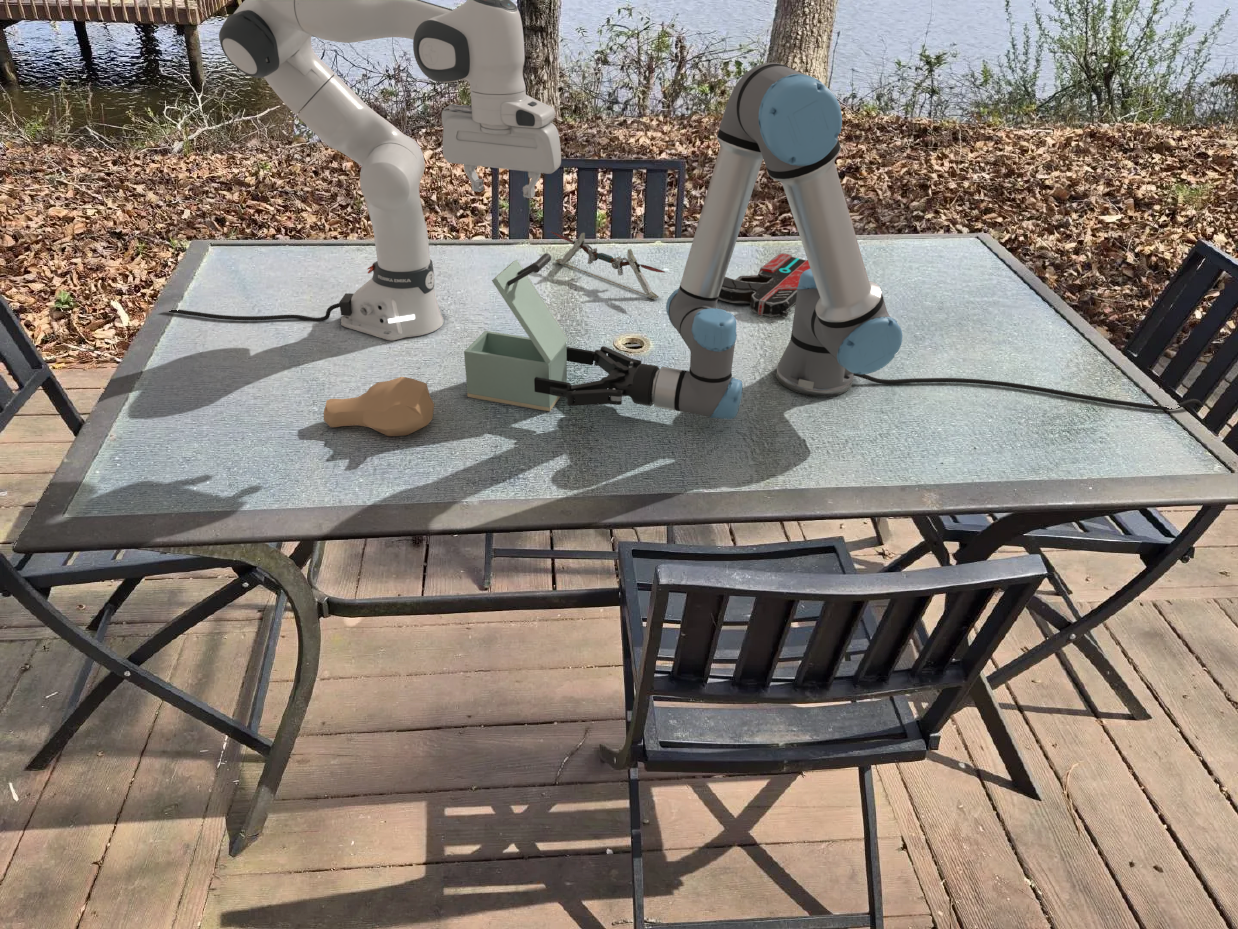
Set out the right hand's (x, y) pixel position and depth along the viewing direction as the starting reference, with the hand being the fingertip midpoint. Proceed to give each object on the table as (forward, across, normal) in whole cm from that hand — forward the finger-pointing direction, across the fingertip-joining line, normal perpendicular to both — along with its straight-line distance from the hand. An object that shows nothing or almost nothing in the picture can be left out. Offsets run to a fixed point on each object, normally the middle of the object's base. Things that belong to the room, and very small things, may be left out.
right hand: (548, 368), depth 166 cm
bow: (+8, +60, -6) cm, 61 cm away
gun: (-32, +68, -6) cm, 76 cm away
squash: (+25, -20, -6) cm, 33 cm away
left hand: (+7, 0, +32) cm, 33 cm away
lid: (+3, 0, +11) cm, 11 cm away
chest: (+6, 0, -6) cm, 9 cm away
